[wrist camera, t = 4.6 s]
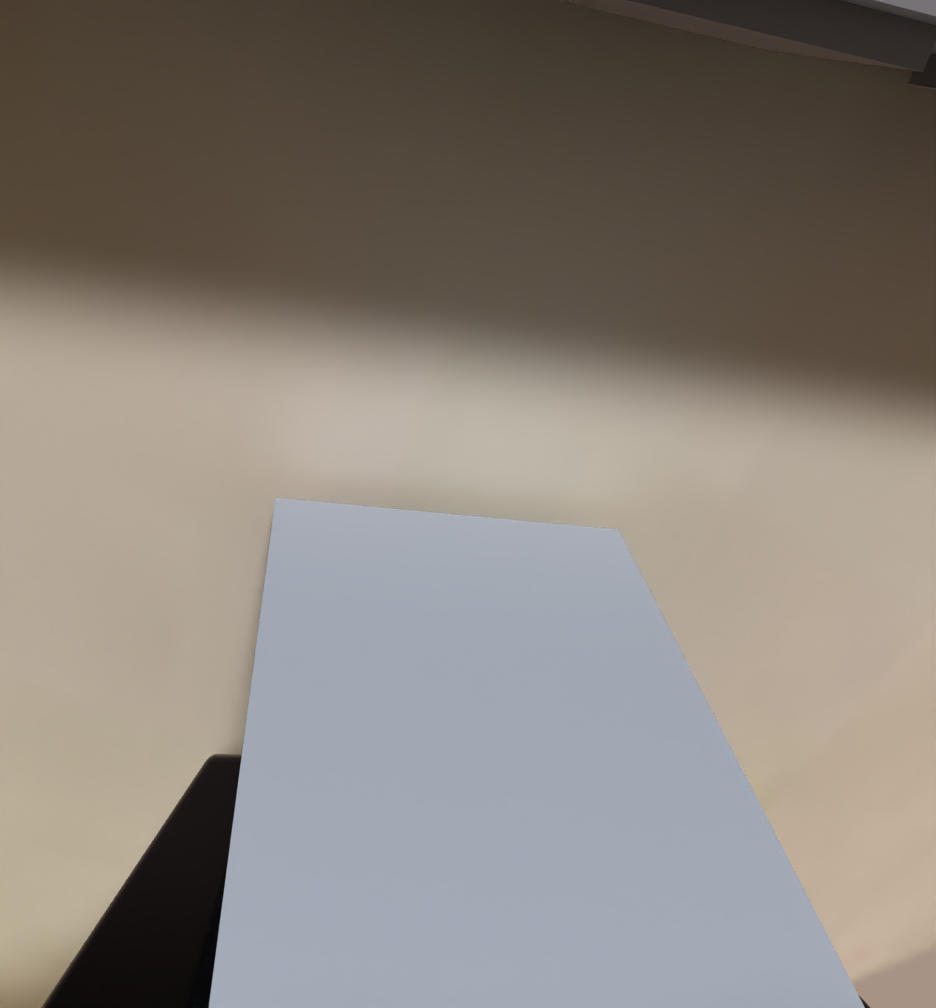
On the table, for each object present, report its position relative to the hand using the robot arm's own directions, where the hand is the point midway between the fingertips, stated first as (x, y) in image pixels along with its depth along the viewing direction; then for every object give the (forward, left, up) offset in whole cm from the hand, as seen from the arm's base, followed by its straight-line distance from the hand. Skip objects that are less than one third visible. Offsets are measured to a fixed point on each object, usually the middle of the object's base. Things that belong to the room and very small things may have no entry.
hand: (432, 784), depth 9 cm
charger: (0, 0, -2) cm, 2 cm away
